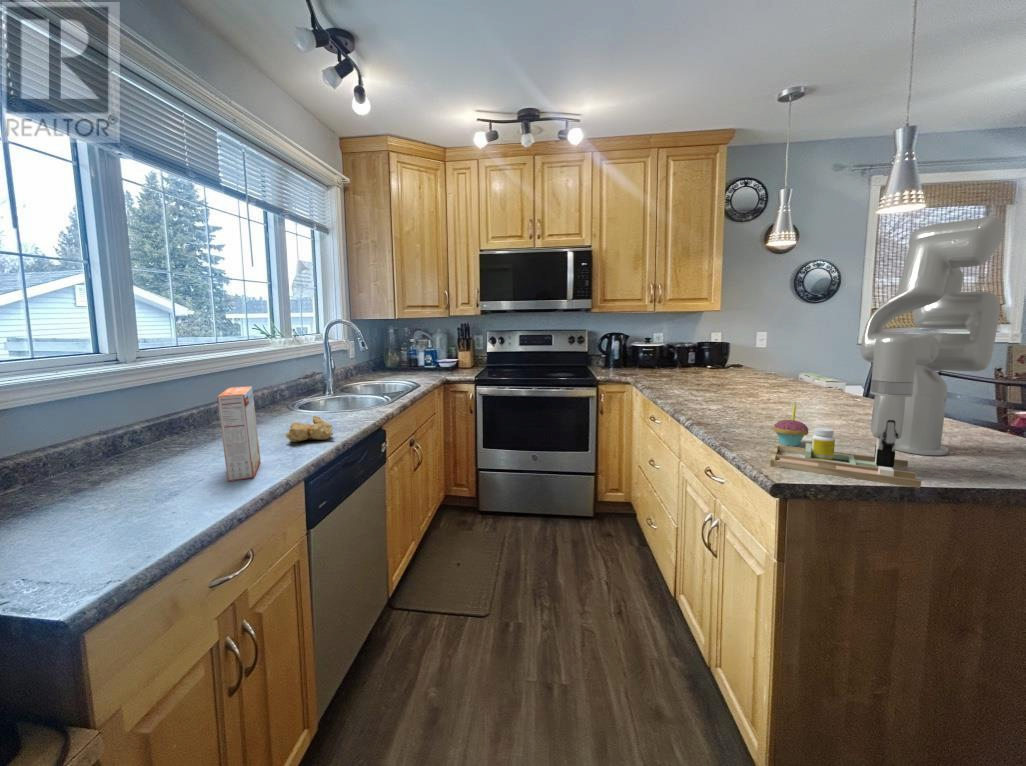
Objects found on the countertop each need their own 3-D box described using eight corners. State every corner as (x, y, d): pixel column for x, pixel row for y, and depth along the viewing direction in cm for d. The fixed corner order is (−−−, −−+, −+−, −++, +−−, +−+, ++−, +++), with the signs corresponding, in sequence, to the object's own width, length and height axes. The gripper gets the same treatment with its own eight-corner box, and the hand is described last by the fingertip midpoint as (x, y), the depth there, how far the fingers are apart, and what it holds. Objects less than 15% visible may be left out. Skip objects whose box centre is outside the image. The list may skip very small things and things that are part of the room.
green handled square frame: (805, 454, 118) (807, 428, 118) (888, 464, 109) (891, 436, 108) (804, 462, 111) (806, 435, 110) (894, 474, 102) (897, 445, 101)
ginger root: (328, 441, 135) (320, 416, 134) (277, 455, 134) (269, 430, 134) (346, 430, 150) (338, 408, 149) (300, 443, 150) (293, 420, 149)
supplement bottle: (836, 464, 110) (839, 431, 109) (815, 463, 111) (818, 431, 110) (827, 458, 115) (829, 427, 114) (806, 458, 116) (809, 426, 115)
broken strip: (779, 461, 113) (780, 452, 113) (890, 477, 101) (891, 466, 101) (778, 466, 110) (779, 456, 109) (893, 482, 98) (894, 472, 98)
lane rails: (774, 449, 123) (775, 444, 123) (907, 466, 108) (907, 460, 108) (770, 466, 110) (770, 460, 110) (920, 487, 95) (921, 481, 94)
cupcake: (778, 438, 135) (781, 399, 133) (811, 444, 128) (814, 403, 127) (768, 444, 129) (771, 403, 127) (802, 450, 123) (805, 407, 121)
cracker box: (235, 465, 117) (227, 387, 115) (261, 462, 120) (253, 385, 117) (225, 482, 105) (215, 395, 102) (254, 478, 107) (245, 393, 104)
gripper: (867, 382, 112) (860, 453, 115) (874, 392, 99) (866, 471, 102) (906, 384, 108) (898, 457, 111) (919, 394, 95) (910, 477, 97)
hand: (883, 463), depth 106 cm, fingers closed on green handled square frame, 3 cm apart
